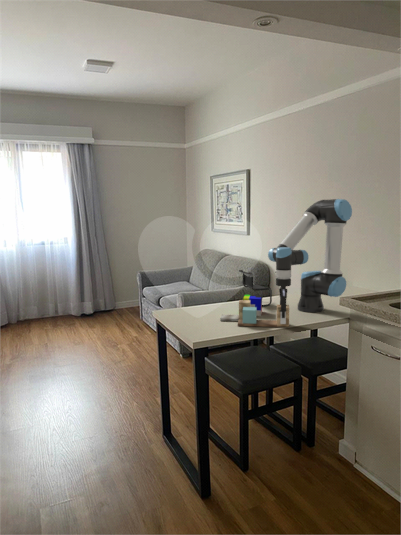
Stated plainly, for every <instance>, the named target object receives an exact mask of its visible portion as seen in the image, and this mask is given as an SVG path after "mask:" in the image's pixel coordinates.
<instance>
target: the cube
mask: <svg viewBox="0 0 401 535" xmlns="http://www.w3.org/2000/svg"><path fill="white" fill-rule="evenodd" d="M257 317H258V316H257V307H243V323H247V324H256V320H257Z"/></svg>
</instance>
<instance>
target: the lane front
mask: <svg viewBox="0 0 401 535" xmlns="http://www.w3.org/2000/svg"><path fill="white" fill-rule="evenodd" d="M279 310H281V305H280V304H276V319H275V320H273V319H256V324H247V323H243V319H239V320H238V321H237V326H238V327H263V328H264V327H267V328H268V327H271V328H277V327H283V328H285V327H287V328H289V326H290V305H289V304H286V324H280V312H279Z"/></svg>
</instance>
